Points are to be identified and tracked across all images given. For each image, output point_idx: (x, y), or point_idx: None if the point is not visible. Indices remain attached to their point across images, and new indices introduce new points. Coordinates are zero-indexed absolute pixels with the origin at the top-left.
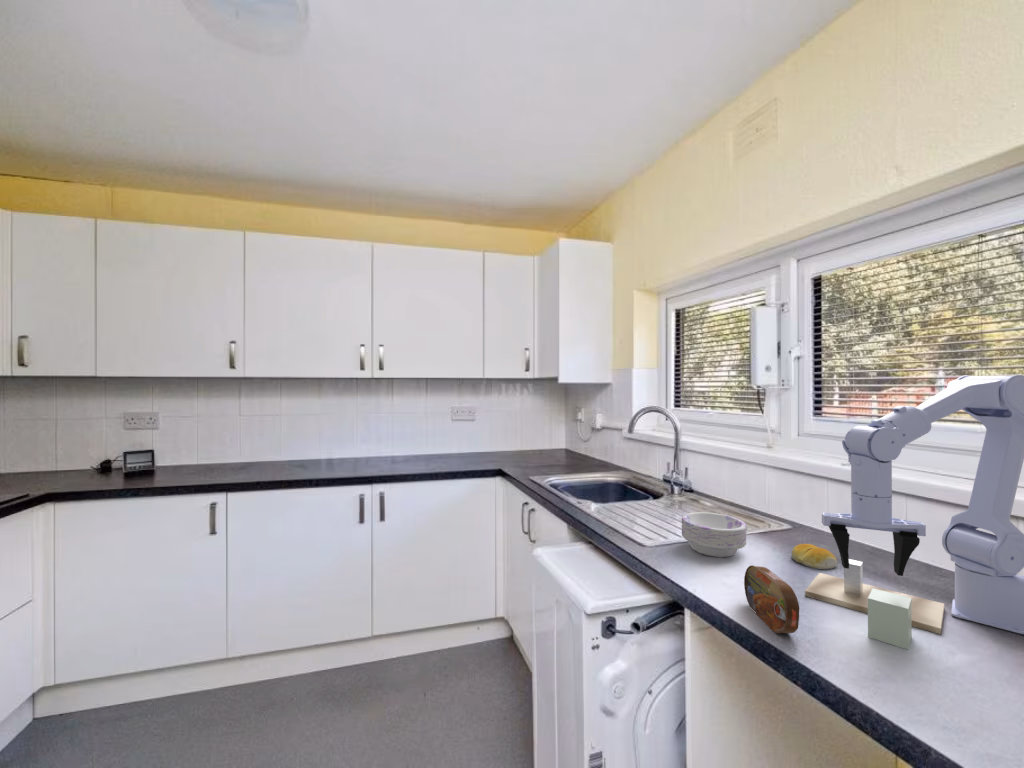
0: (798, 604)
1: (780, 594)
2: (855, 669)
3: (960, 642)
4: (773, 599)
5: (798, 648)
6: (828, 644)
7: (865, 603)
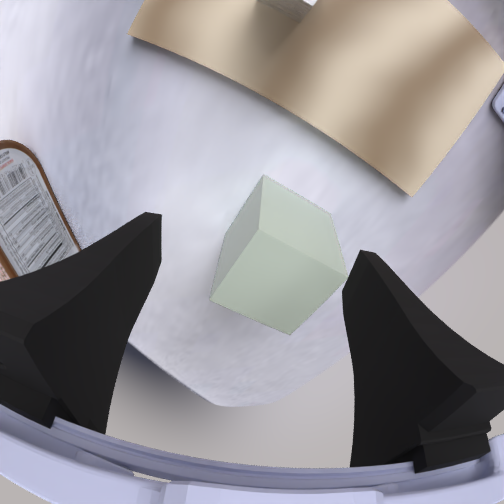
0: None
1: None
2: (170, 327)
3: (419, 218)
4: None
5: None
6: None
7: (291, 75)
